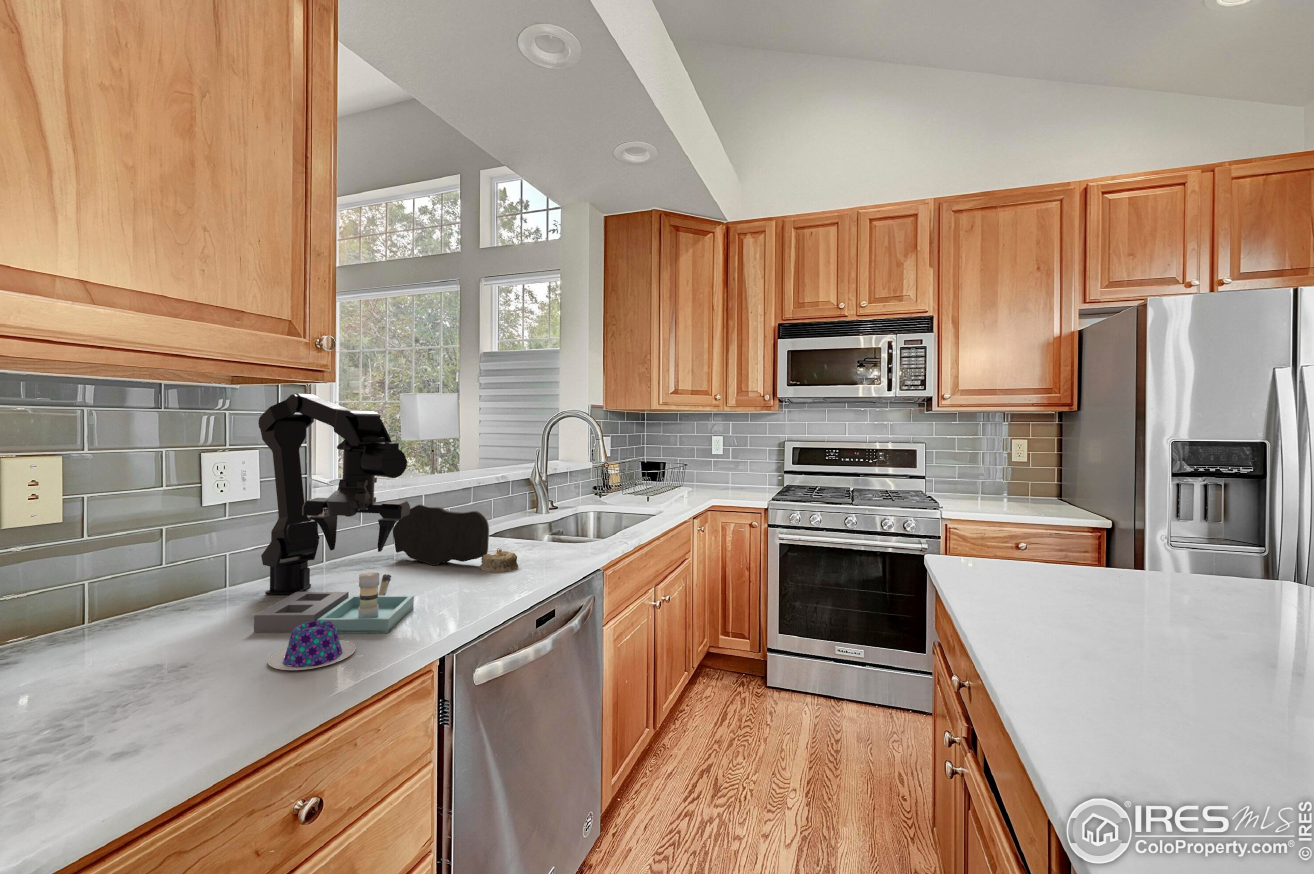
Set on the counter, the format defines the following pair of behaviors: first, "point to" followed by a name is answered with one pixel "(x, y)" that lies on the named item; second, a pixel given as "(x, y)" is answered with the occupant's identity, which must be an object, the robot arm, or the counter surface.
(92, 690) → the counter surface
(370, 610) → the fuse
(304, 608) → the block
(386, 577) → the tomahawk
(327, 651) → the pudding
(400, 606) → the parts tray
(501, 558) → the cake
